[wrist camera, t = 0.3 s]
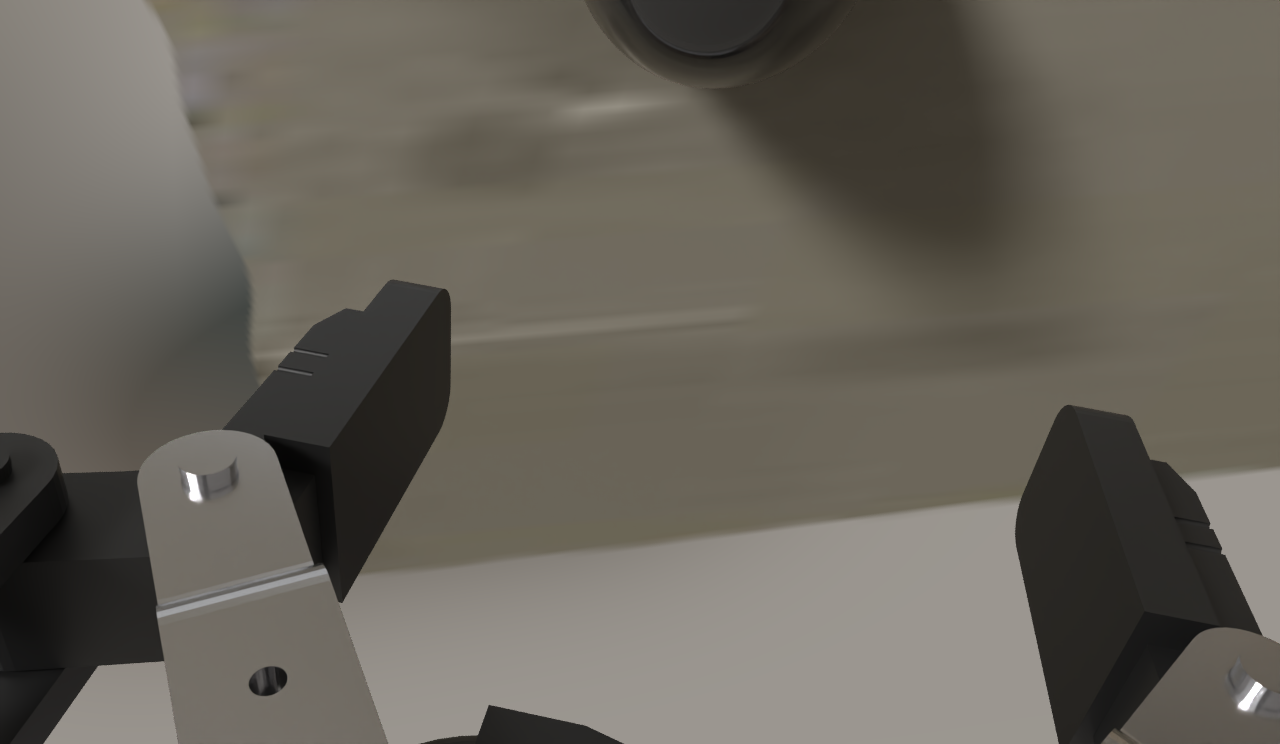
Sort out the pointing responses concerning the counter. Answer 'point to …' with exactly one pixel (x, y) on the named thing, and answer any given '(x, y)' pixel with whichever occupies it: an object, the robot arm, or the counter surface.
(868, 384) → the counter surface
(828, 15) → the dark grey tapered dome
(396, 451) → the robot arm
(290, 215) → the counter surface
